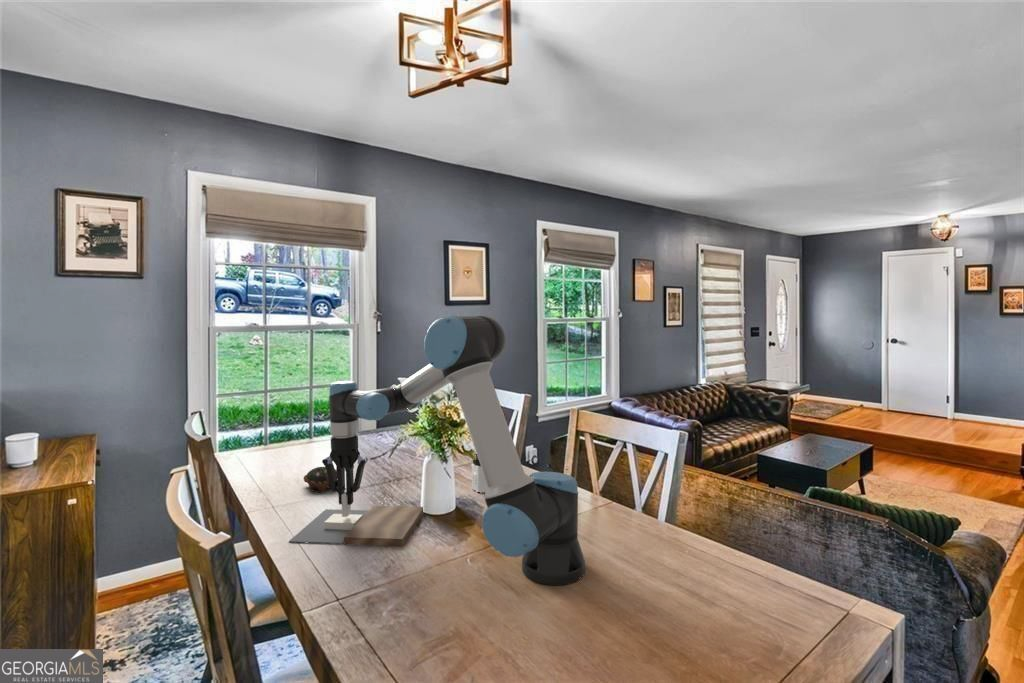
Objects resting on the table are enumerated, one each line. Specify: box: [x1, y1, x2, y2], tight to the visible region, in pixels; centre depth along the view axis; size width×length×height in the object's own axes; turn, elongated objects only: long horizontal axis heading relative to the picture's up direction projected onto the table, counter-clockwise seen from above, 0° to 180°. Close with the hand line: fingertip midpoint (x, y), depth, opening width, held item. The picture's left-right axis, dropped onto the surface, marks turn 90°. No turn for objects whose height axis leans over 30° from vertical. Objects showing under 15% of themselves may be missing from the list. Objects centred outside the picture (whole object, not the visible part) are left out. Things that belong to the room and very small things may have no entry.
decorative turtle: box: [303, 466, 337, 493], centre depth 176 cm, size 10×15×8 cm, turn 71°
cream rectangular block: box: [324, 514, 363, 530], centre depth 144 cm, size 9×6×2 cm, turn 85°
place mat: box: [288, 508, 370, 545], centre depth 145 cm, size 15×22×1 cm
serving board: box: [343, 505, 424, 547], centre depth 143 cm, size 16×22×2 cm
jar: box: [471, 453, 488, 492], centre depth 174 cm, size 9×8×12 cm
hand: (346, 514), depth 144 cm, fingers closed
